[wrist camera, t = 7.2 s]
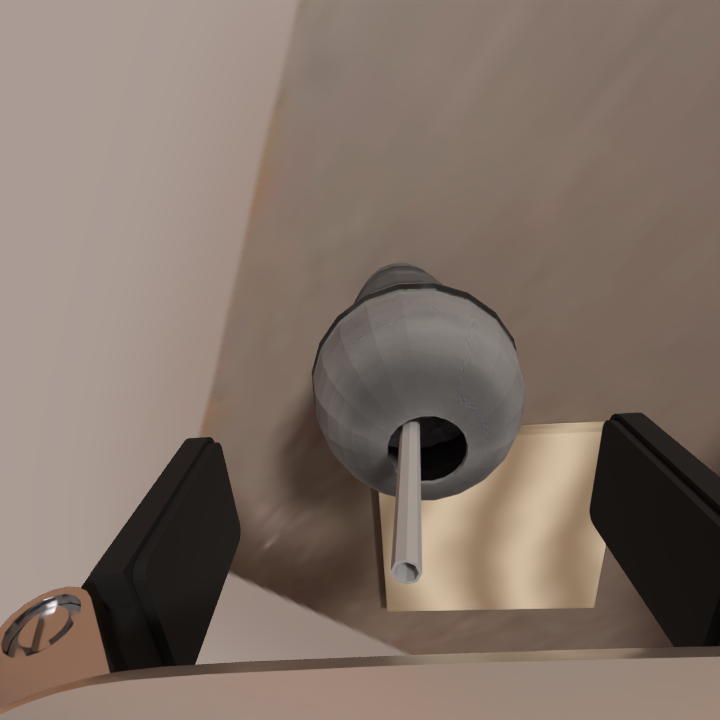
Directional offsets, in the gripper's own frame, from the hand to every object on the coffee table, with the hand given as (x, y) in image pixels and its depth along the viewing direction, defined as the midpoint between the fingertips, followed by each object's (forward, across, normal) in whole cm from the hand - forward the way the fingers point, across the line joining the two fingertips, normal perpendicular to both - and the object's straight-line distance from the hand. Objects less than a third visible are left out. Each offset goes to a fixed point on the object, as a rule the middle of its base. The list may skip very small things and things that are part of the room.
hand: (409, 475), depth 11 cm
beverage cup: (+16, -1, 0) cm, 17 cm away
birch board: (+16, -7, +17) cm, 24 cm away
